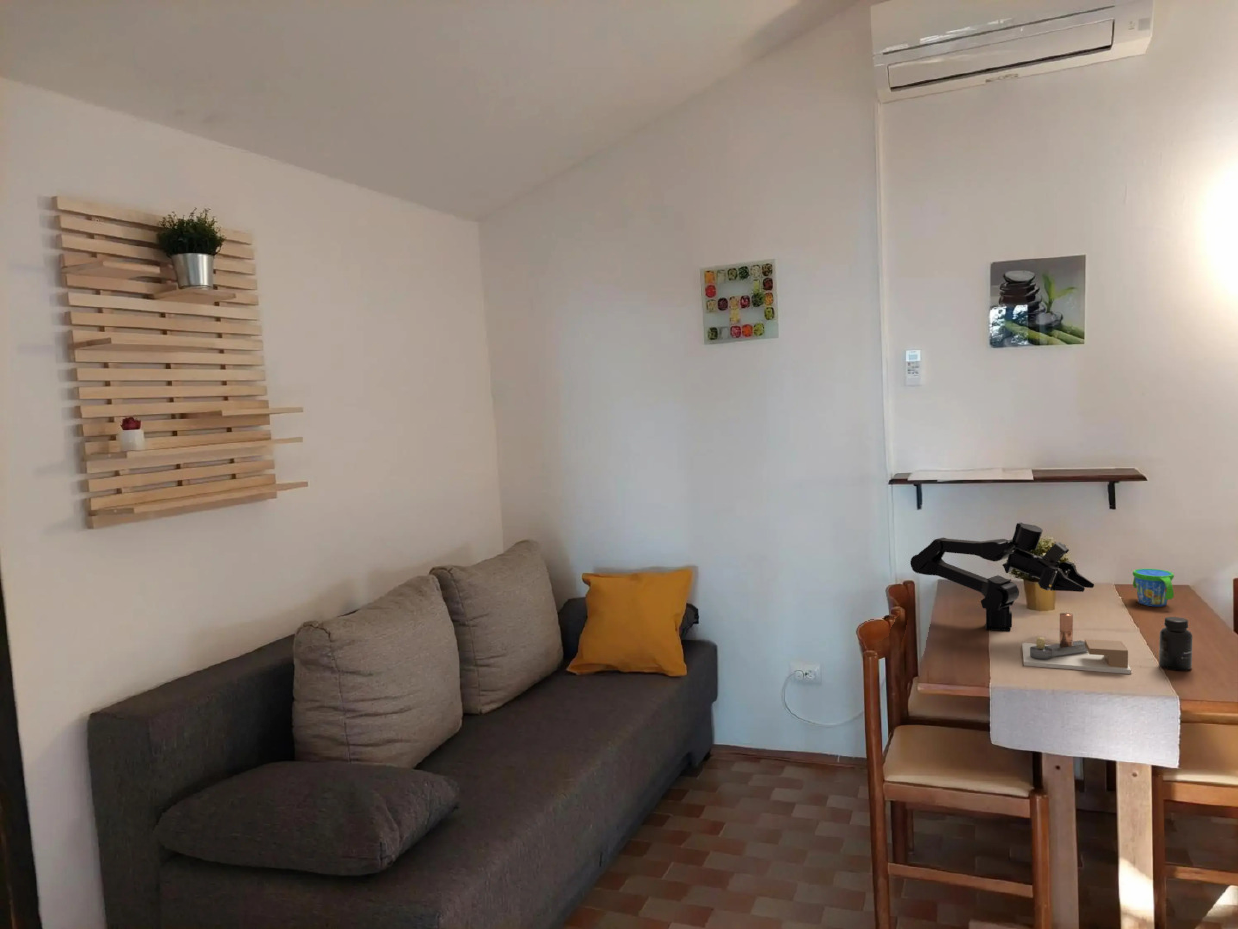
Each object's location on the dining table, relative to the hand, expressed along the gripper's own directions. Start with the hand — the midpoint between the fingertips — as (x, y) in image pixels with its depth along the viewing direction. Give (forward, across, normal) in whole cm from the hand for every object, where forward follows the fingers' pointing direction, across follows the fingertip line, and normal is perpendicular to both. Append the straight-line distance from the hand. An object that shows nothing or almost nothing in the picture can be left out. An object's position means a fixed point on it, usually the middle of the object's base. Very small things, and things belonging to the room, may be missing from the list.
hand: (1089, 588), depth 234 cm
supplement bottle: (+26, -7, +9) cm, 28 cm away
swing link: (+2, -16, +15) cm, 23 cm away
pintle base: (+6, -15, +16) cm, 22 cm away
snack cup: (+8, +53, +9) cm, 55 cm away
